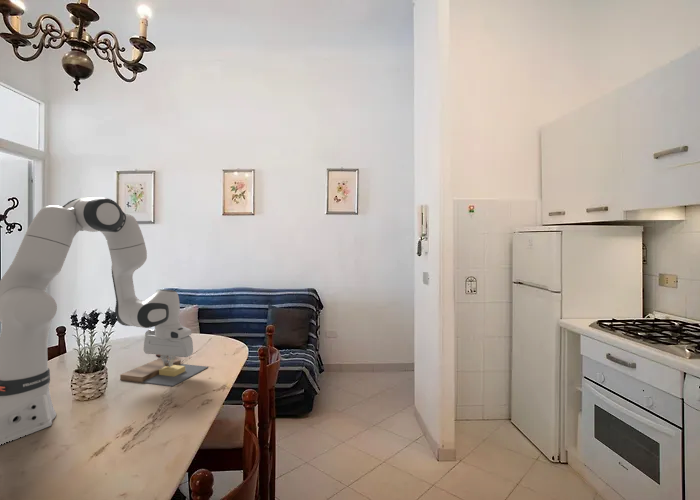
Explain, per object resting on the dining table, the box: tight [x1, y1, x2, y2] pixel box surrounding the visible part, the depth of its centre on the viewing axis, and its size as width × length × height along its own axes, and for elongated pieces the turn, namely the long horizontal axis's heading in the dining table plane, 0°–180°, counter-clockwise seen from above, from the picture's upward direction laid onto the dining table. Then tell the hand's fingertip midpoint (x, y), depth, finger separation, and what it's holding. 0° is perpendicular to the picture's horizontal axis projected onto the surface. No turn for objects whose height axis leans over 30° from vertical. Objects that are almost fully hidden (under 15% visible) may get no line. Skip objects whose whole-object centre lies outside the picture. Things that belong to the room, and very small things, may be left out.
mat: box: [142, 363, 209, 387], centre depth 145 cm, size 20×13×1 cm, turn 164°
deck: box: [119, 357, 182, 384], centre depth 148 cm, size 20×10×2 cm, turn 164°
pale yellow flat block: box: [159, 365, 185, 377], centre depth 146 cm, size 6×7×2 cm
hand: (168, 366), depth 146 cm, fingers closed
